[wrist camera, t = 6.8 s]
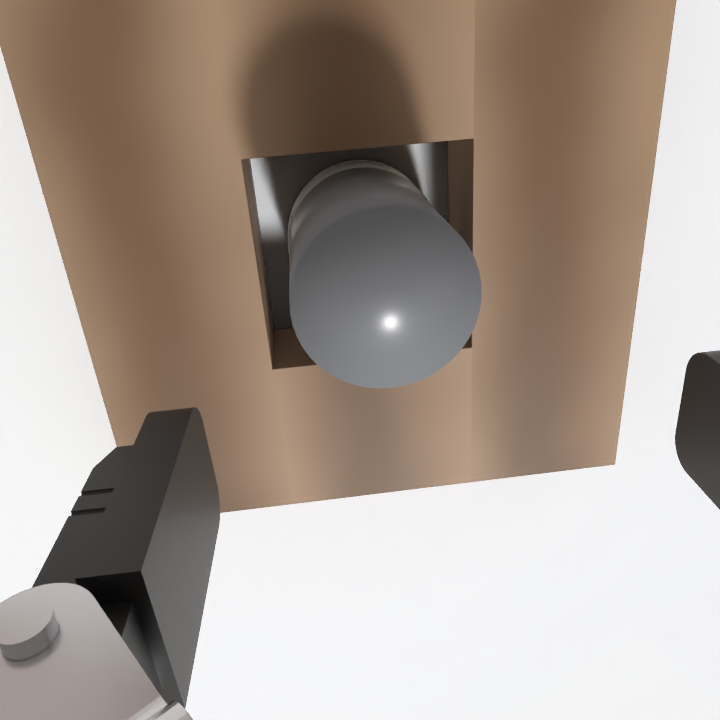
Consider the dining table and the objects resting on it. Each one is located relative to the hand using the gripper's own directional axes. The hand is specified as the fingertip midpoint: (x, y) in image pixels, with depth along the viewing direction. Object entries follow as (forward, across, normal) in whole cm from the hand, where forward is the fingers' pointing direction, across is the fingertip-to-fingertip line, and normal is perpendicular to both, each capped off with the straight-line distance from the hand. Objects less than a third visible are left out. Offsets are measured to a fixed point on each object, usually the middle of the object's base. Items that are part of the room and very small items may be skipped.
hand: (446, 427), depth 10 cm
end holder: (+11, +1, 0) cm, 11 cm away
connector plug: (+11, +1, 0) cm, 11 cm away
